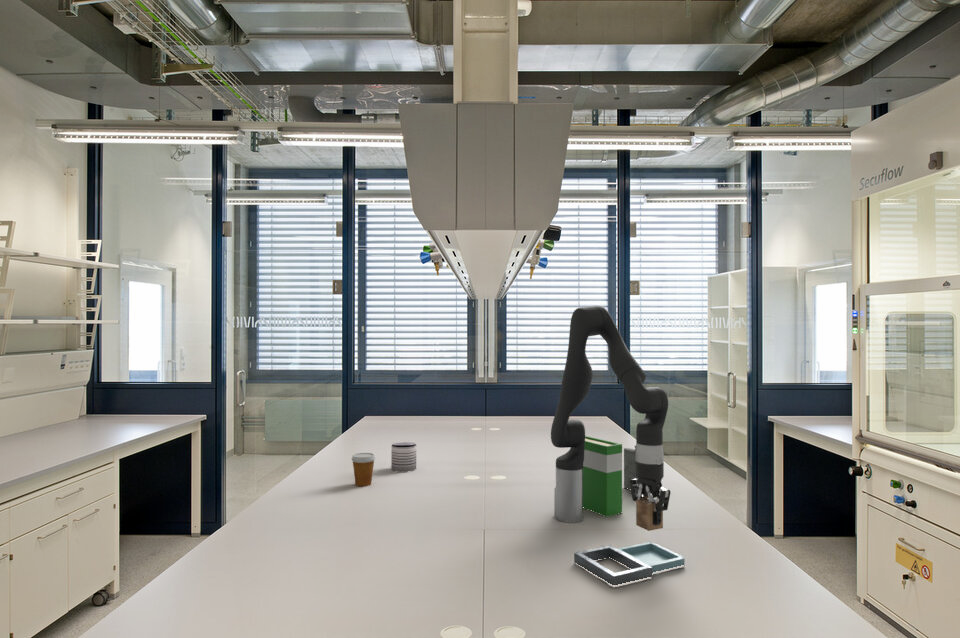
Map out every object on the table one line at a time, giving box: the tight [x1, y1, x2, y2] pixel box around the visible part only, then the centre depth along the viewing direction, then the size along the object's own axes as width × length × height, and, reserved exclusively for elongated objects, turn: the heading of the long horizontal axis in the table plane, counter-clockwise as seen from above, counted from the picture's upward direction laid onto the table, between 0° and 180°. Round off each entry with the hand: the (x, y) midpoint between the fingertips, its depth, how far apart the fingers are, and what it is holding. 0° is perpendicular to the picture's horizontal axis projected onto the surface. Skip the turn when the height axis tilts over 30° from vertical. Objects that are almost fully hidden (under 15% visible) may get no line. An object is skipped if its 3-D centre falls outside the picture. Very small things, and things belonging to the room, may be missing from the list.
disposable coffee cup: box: [351, 452, 376, 487], centre depth 239 cm, size 10×10×12 cm
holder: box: [573, 544, 653, 585], centre depth 155 cm, size 17×12×3 cm
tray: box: [617, 541, 685, 573], centre depth 161 cm, size 13×13×2 cm
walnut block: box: [635, 498, 664, 532], centre depth 161 cm, size 5×5×7 cm
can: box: [390, 441, 417, 473], centre depth 264 cm, size 11×11×12 cm
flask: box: [623, 444, 638, 490], centre depth 230 cm, size 4×14×18 cm, turn 28°
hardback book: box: [583, 435, 623, 517], centre depth 209 cm, size 18×7×24 cm, turn 33°
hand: (649, 521), depth 161 cm, fingers closed on walnut block, 5 cm apart
